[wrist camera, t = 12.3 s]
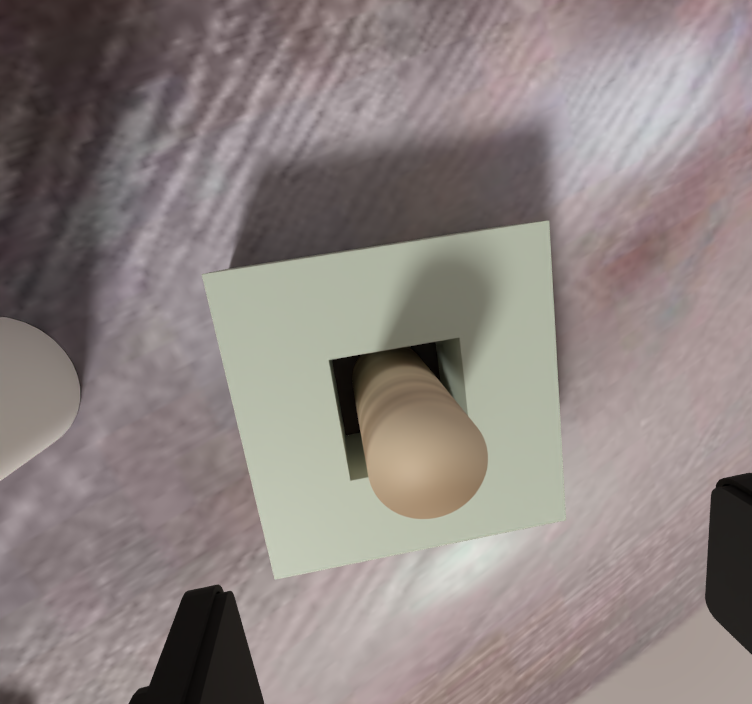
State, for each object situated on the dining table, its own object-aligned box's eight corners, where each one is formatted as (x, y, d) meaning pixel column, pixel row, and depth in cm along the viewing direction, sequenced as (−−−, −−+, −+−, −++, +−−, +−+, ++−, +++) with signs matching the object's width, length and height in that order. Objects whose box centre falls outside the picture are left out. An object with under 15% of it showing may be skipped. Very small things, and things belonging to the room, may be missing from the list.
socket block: (228, 268, 22) (201, 274, 17) (502, 226, 23) (549, 220, 18) (284, 516, 26) (274, 579, 21) (522, 470, 27) (565, 520, 22)
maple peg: (346, 348, 24) (358, 418, 14) (420, 335, 24) (482, 396, 14) (358, 418, 25) (377, 529, 15) (429, 405, 25) (493, 506, 15)
